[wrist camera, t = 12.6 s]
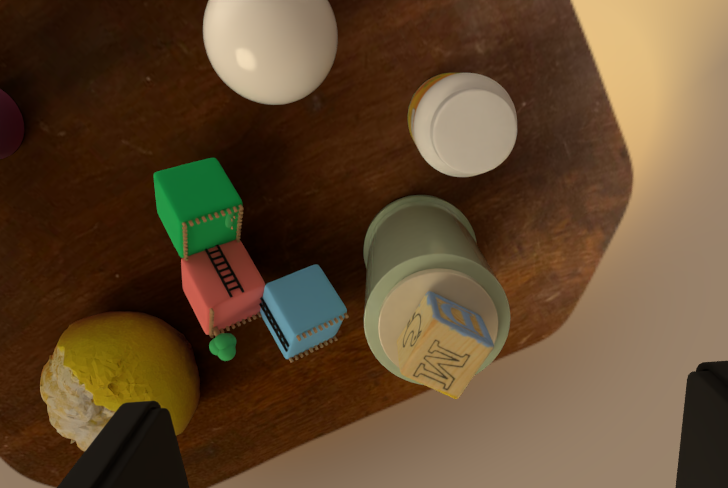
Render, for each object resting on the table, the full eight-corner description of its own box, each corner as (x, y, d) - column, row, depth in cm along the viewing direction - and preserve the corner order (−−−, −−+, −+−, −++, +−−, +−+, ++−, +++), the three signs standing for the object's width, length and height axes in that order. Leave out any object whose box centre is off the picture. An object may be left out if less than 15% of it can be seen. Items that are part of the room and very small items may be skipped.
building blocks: (260, 212, 41) (338, 340, 37) (155, 246, 37) (229, 394, 33) (271, 140, 35) (367, 283, 30) (146, 172, 31) (235, 342, 26)
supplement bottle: (486, 65, 33) (529, 62, 24) (494, 150, 34) (537, 179, 25) (401, 80, 33) (410, 83, 24) (413, 164, 35) (426, 197, 26)
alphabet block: (483, 316, 25) (497, 347, 22) (450, 366, 26) (459, 403, 23) (427, 287, 25) (434, 316, 22) (395, 340, 26) (397, 374, 23)
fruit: (32, 321, 39) (-13, 369, 31) (175, 279, 41) (165, 314, 33) (88, 447, 42) (59, 518, 34) (219, 402, 44) (219, 460, 36)
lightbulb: (231, 73, 33) (165, 74, 23) (264, -29, 31) (208, -80, 21) (324, 113, 34) (301, 131, 24) (362, 14, 32) (354, -14, 22)
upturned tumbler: (474, 190, 35) (520, 246, 24) (476, 296, 38) (519, 393, 26) (359, 199, 36) (350, 257, 24) (368, 303, 38) (364, 402, 27)
